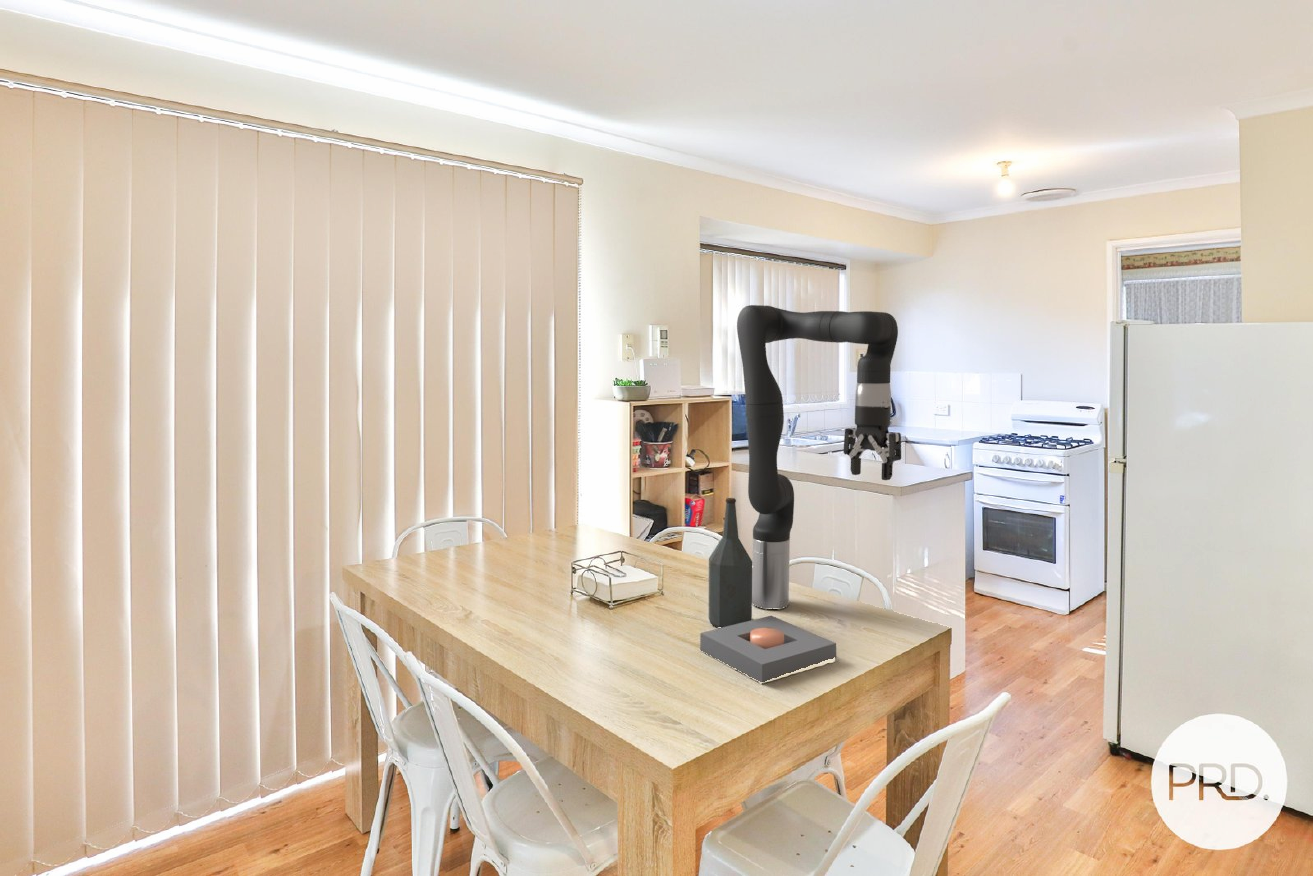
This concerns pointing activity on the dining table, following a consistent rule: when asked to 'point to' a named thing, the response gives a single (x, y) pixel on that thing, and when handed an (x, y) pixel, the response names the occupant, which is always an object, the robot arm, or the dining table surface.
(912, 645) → the dining table surface
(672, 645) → the dining table surface
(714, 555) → the bottle
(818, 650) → the button box
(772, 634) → the button cap
